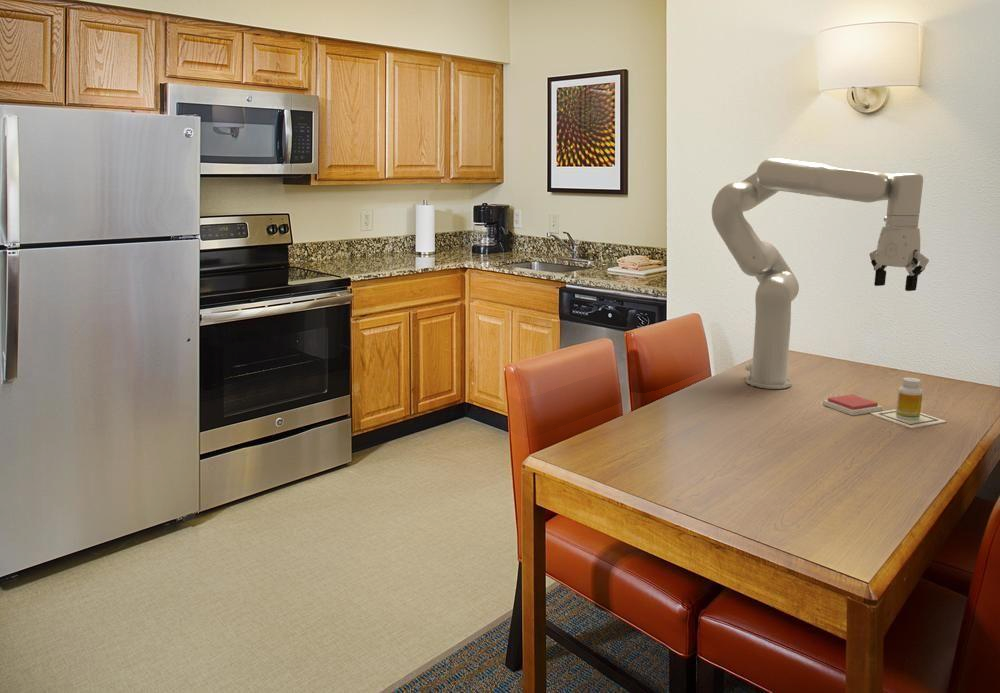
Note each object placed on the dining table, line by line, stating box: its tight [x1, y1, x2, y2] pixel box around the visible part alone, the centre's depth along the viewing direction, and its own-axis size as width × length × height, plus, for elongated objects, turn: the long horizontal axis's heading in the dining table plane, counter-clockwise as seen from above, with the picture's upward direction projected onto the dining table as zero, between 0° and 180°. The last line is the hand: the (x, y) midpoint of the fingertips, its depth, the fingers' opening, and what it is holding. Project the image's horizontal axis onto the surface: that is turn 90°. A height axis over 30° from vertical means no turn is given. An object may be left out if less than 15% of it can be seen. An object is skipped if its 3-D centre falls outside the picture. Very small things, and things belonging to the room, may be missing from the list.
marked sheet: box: [870, 408, 948, 429], centre depth 193 cm, size 12×12×1 cm
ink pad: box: [822, 394, 883, 416], centre depth 202 cm, size 10×10×2 cm
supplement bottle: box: [895, 377, 923, 420], centre depth 192 cm, size 5×5×10 cm
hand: (894, 288), depth 203 cm, fingers open, 9 cm apart
